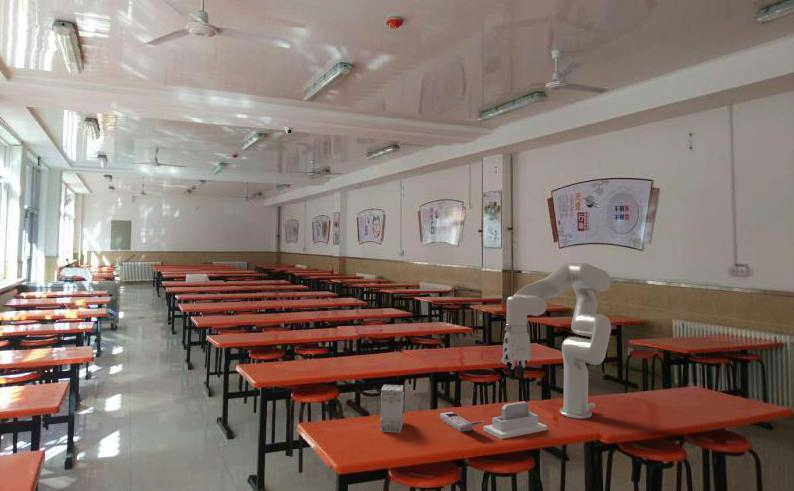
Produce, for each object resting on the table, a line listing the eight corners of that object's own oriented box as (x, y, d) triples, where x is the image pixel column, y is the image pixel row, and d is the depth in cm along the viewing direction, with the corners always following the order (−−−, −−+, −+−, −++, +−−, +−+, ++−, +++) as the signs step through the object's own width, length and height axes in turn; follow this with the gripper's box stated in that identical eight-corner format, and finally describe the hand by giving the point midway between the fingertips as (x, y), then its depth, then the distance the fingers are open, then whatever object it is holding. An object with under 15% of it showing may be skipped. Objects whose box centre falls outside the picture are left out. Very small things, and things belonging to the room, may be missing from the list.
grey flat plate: (501, 425, 186) (501, 404, 186) (526, 421, 192) (526, 400, 192) (504, 427, 185) (504, 405, 185) (529, 422, 190) (529, 401, 190)
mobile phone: (470, 422, 178) (436, 403, 201) (470, 439, 178) (435, 418, 201) (485, 421, 181) (449, 401, 203) (484, 437, 180) (449, 416, 203)
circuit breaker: (404, 419, 197) (404, 381, 198) (400, 432, 183) (401, 391, 184) (385, 418, 198) (385, 380, 198) (380, 431, 184) (381, 390, 184)
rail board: (528, 421, 198) (528, 409, 198) (546, 429, 189) (546, 416, 189) (483, 430, 187) (483, 416, 187) (500, 439, 178) (501, 424, 179)
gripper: (506, 332, 182) (505, 383, 181) (540, 329, 189) (539, 378, 189) (492, 329, 188) (491, 378, 188) (526, 327, 196) (525, 374, 196)
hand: (515, 378), depth 188 cm, fingers open, 3 cm apart
